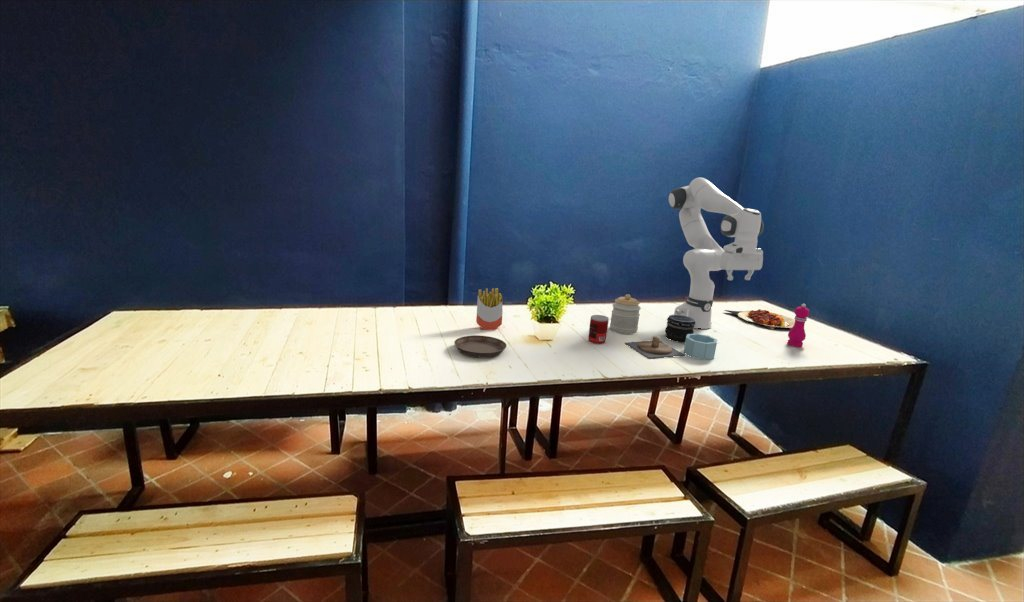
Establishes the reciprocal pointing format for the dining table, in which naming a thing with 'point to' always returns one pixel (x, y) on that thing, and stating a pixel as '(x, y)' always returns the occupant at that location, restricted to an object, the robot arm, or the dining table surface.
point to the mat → (653, 356)
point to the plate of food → (765, 318)
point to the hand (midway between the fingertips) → (738, 280)
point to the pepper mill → (798, 327)
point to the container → (679, 327)
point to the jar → (625, 315)
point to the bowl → (700, 346)
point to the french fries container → (489, 310)
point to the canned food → (598, 329)
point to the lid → (655, 346)
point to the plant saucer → (480, 346)
